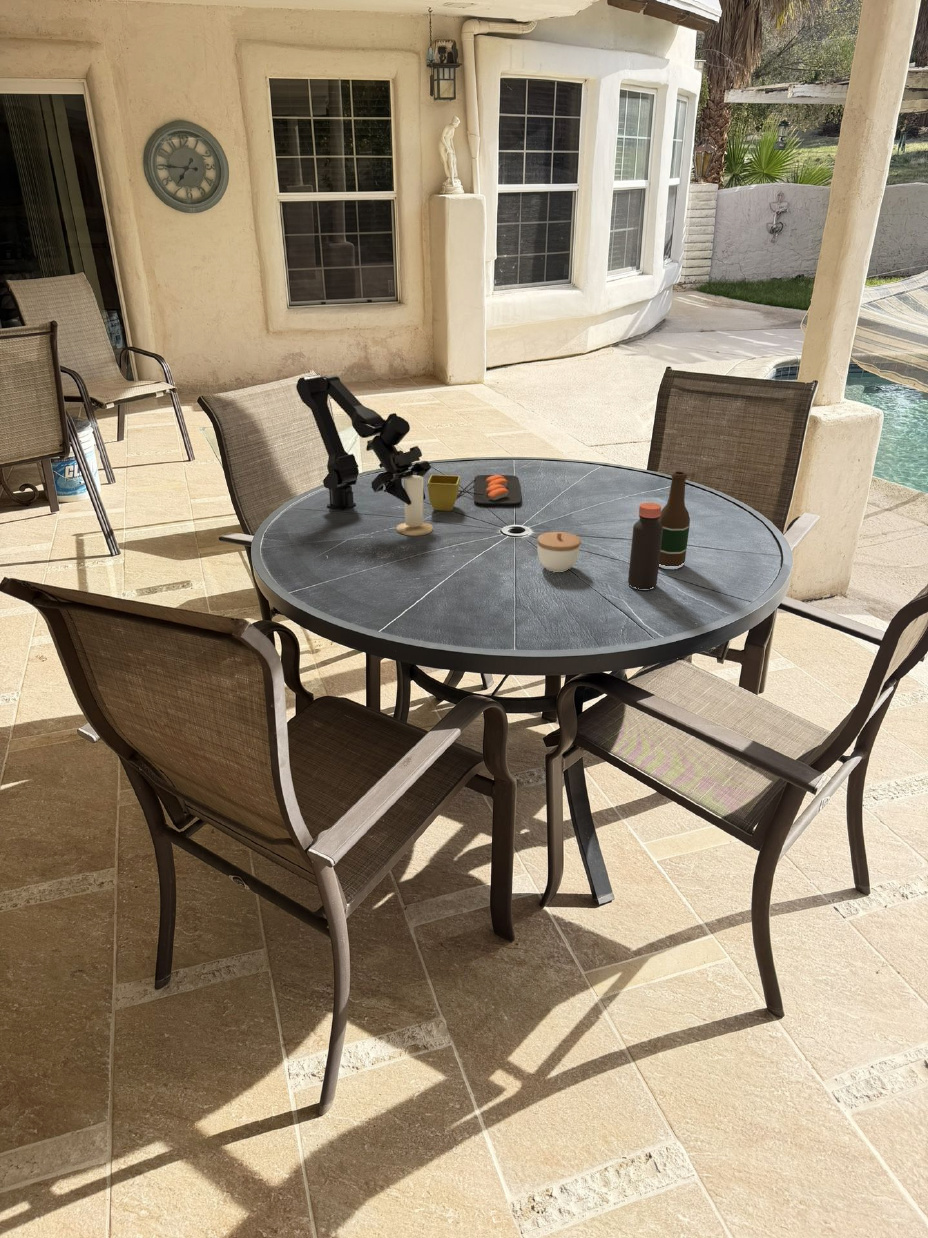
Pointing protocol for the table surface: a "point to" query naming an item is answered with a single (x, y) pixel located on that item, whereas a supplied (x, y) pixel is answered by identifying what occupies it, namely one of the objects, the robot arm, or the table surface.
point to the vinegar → (646, 547)
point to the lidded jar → (558, 550)
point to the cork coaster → (414, 529)
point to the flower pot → (443, 491)
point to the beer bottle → (675, 523)
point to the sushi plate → (495, 489)
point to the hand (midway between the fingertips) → (417, 501)
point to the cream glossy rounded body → (414, 500)
